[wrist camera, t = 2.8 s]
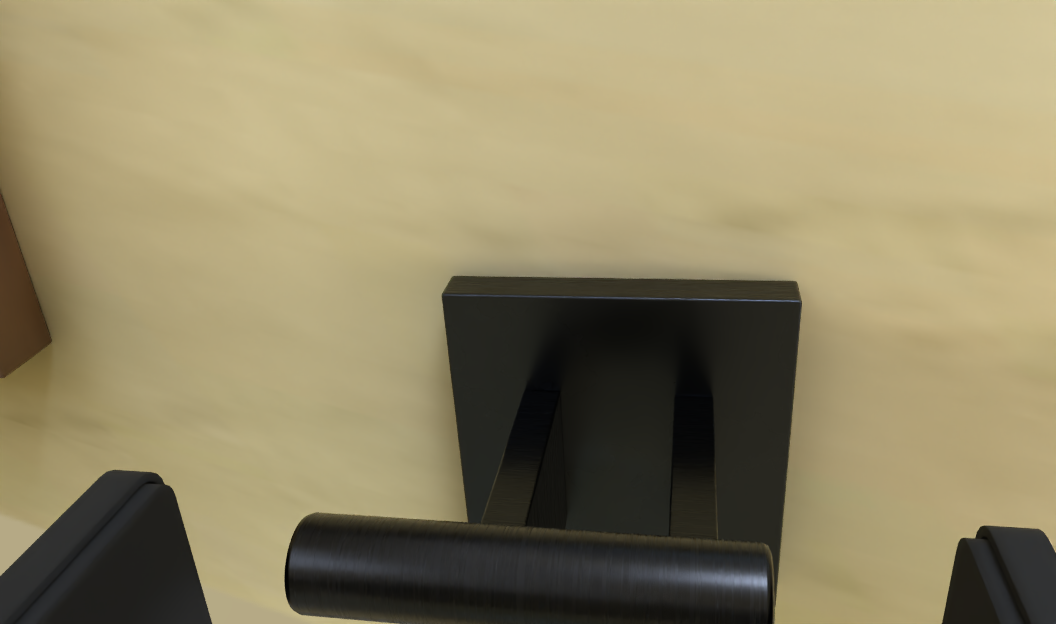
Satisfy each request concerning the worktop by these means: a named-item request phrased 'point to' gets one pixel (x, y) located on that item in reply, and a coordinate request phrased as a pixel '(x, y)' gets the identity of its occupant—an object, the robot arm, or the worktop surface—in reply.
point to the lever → (521, 574)
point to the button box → (17, 304)
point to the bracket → (625, 403)
